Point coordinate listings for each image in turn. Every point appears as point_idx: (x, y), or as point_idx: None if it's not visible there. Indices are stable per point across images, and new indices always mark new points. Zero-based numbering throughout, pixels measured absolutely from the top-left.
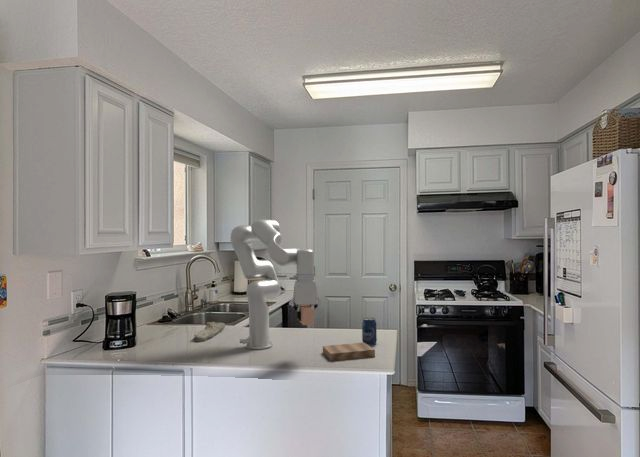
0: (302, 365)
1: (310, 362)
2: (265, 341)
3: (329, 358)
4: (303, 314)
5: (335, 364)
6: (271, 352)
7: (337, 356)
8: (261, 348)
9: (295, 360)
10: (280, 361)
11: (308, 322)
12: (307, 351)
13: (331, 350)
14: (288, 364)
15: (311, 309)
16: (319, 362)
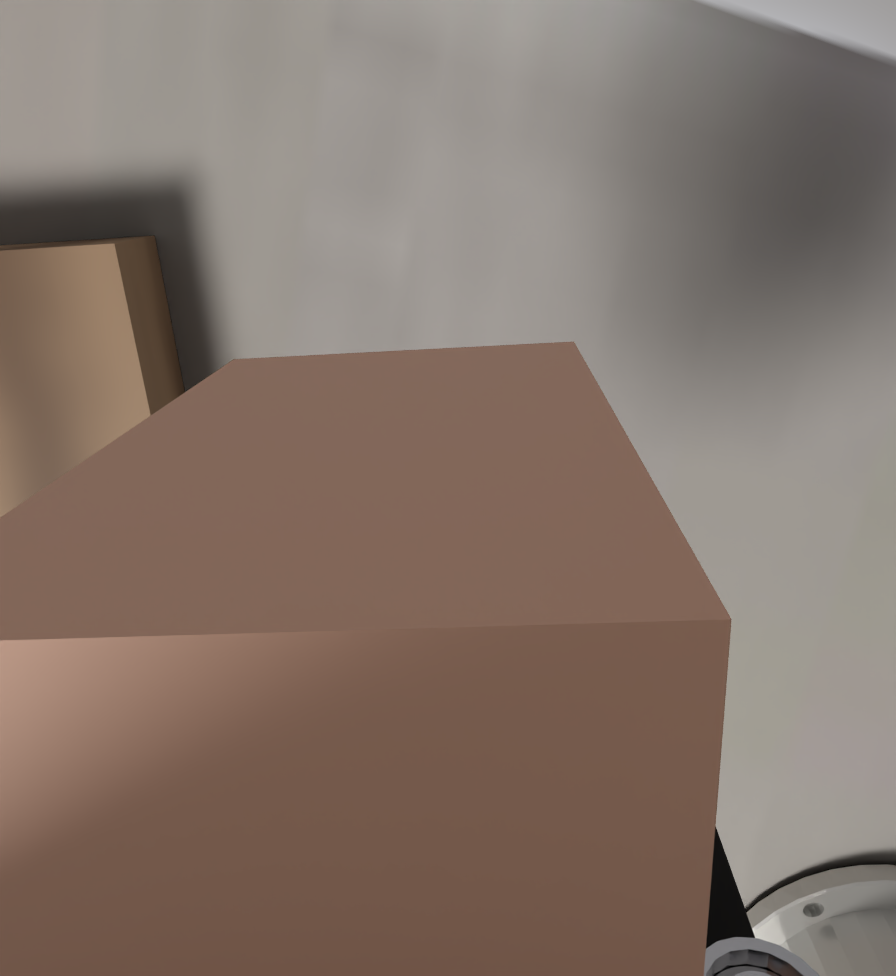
0: (559, 129)
1: (429, 240)
2: (839, 964)
3: (163, 306)
4: (628, 454)
5: (107, 50)
6: (792, 748)
7: (40, 246)
8: (874, 869)
9: (600, 379)
10: (791, 387)
11: (397, 363)
12: None
13: (94, 409)
14: (728, 228)
15: (62, 591)
16: (313, 208)
